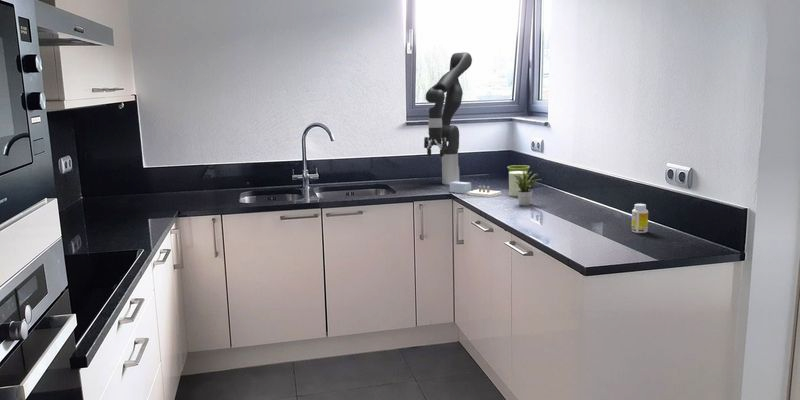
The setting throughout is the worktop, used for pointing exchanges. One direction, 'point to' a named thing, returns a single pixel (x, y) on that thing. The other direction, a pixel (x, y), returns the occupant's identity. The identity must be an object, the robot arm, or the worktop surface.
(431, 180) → the worktop surface
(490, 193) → the white peg board
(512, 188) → the can
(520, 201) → the house plant
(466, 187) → the plug housing
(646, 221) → the supplement bottle
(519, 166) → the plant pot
